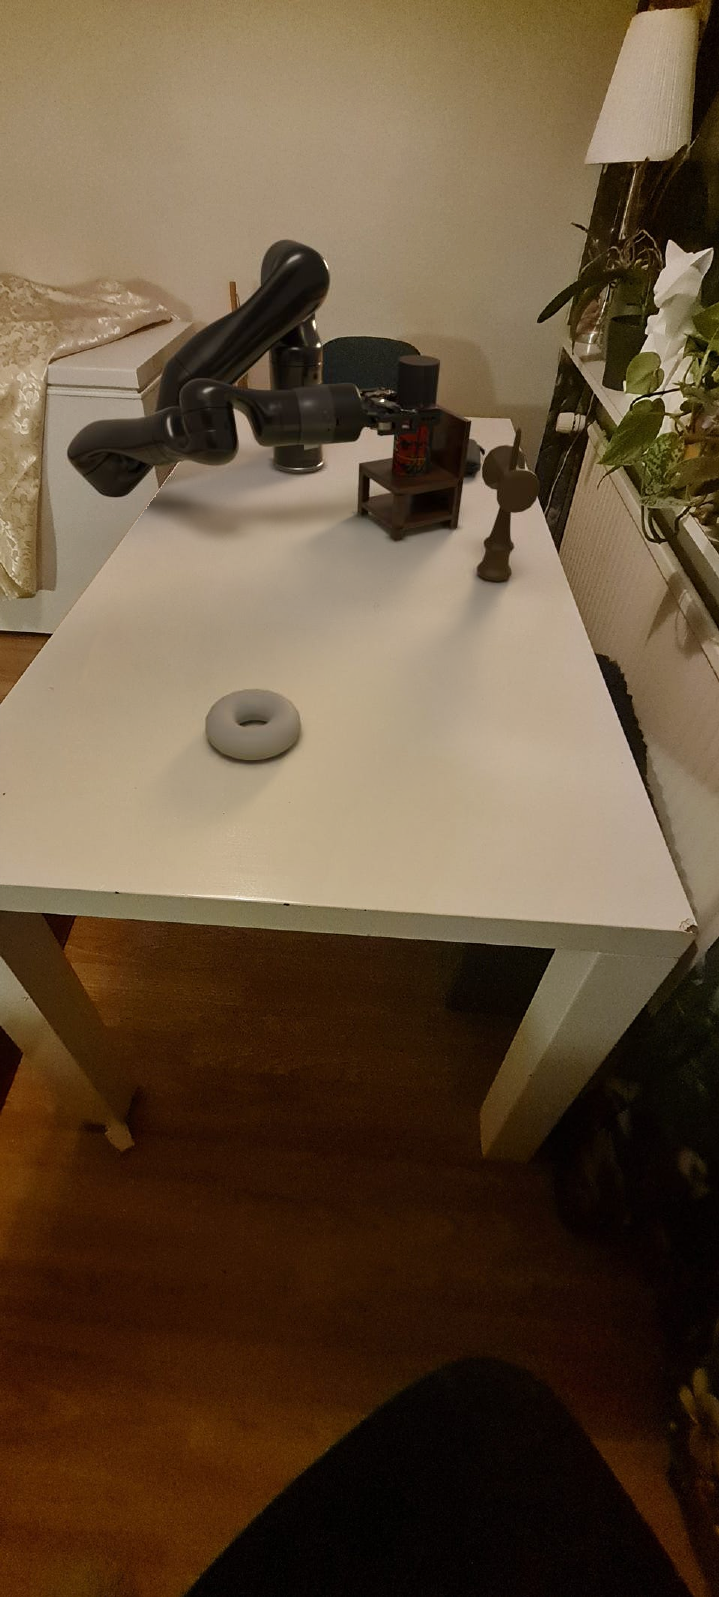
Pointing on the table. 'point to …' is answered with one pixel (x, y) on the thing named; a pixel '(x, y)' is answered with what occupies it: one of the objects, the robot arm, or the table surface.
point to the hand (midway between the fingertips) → (427, 407)
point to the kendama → (505, 504)
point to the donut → (252, 739)
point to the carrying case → (473, 458)
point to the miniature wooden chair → (420, 482)
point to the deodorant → (415, 392)
